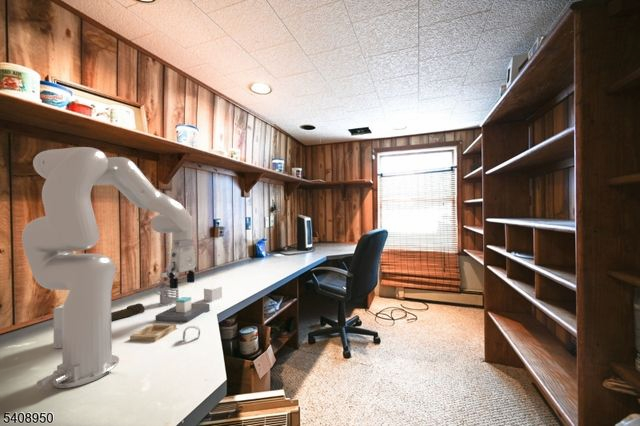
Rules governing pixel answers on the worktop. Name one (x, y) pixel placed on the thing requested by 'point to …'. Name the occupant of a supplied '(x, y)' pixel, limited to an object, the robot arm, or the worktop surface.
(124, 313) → the hand tool
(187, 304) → the plug
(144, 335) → the wooden square tray
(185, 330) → the wristwatch
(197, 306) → the port panel
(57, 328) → the small box
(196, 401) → the worktop surface
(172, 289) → the french press
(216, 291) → the white cube
